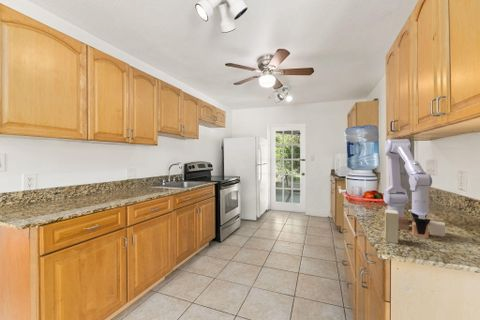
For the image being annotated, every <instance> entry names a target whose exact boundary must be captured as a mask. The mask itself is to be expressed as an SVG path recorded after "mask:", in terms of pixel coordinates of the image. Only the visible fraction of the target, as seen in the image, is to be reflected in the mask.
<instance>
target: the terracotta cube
mask: <svg viewBox="0 0 480 320" xmlns="http://www.w3.org/2000/svg"><path fill="white" fill-rule="evenodd" d="M411 225H412V229H411V230H412V233H411V234H412V235H413V236H415V237H421V238H428V239H429V224H428V225H427V227H426V231H425V234H424V235H422V234H418V232H417V227H416V223H415V222H414V221H412V223H411Z"/></svg>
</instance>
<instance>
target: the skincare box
mask: <svg viewBox="0 0 480 320" xmlns="http://www.w3.org/2000/svg"><path fill="white" fill-rule="evenodd" d="M398 221H399V214H398V212H397V210H387V209H384V241H385V242H386V243H393V244H397V245H398V244H399V229H398Z"/></svg>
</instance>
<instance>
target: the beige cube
mask: <svg viewBox="0 0 480 320" xmlns="http://www.w3.org/2000/svg"><path fill="white" fill-rule="evenodd" d="M429 235H431V236H432V235H433V236H438V237H444V236H445V237H446V222H441V221H435V220H430V222H429Z"/></svg>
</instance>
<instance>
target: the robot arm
mask: <svg viewBox="0 0 480 320" xmlns="http://www.w3.org/2000/svg"><path fill="white" fill-rule="evenodd" d="M411 147H412V146H411V141H410V139H409V138H404V139H389V138H388V139H387V140H386V141H385V142H384V154H385V156H387V160H388V161H387V162H388V176H389V177H388V179H389V185H388V187H385V189H384V190H383V196H382V197H383V202H384V203H385V204H386V205H387V206H386V207H387V210H397V212H398V214H399V216H401V217H405V207H406V205H407V204H408V202H409V196H408V193H407V190H406V189H405V188H404V187H402V182H401V181H402V180H401V178H402V177H401V165H400V157H401V158H402V160H403V161H404V169H405V171H406V173H407V175H408V184H409V188H410V191H411V209H408V212H409V213H410V215H411V216H412V219H413V222H415V223H416V227H417V232H418V234H422V235H424V234H425V231H426V227H427V225H428V226H429V224H430V221H431V219H430V218H429V219H428V218H427V217H428V215H430V211H429V207H430V206H429V205H430V201H429V199H430V198H429V197H430V195H429V190H430V189H429V188H430V187H431V186H432V184H433V178H432V176H431V174H430V173H427V172H426V171H424V169H423V167H422V165H421V164H420V162H419V161H418V160H415V159H414V156H413V153H412V151H411Z"/></svg>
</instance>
